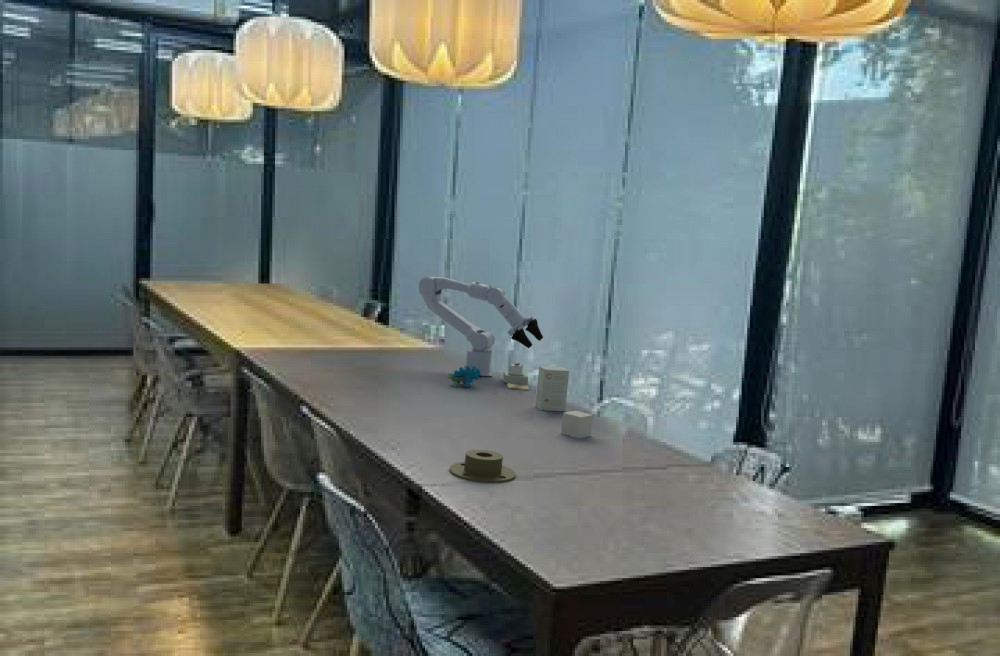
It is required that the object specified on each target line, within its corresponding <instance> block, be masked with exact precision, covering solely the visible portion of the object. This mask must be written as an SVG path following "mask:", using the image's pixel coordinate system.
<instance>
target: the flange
mask: <svg viewBox="0 0 1000 656" xmlns="http://www.w3.org/2000/svg"><path fill="white" fill-rule="evenodd" d="M503 458H504V456H503V454H502V453H500V452H498V451H493V450H489V449H488V450H487V449H471V450H467V451H466V452H465V458H464V461H460V462H456V463H453V464H452V465H450V467H449V473H450V474H451V475H453V476H454V477H457V478H459V479H462V480H465V481H470V482H475V483H482V484H483V483H484V484H500V483H502V484H503V483H509V482H512V481H514V480H515V479H516V475H517V473H516V472H515V470H513V469H512V468H510V467H508V466H505V465H503V460H504V459H503Z"/></svg>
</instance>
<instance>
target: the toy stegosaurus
mask: <svg viewBox="0 0 1000 656" xmlns="http://www.w3.org/2000/svg"><path fill="white" fill-rule="evenodd" d="M466 369H467V370H465V369H464V368H463V367H462V366H461V367H459V370H454V371H453V373H449V374H448V379H450V380H451V382H452V383H453V387H454V388H457V384H459V385H460V384H461V383H462V384H463V385H466V387H467V389H470V388H471V383H472V384H473V382H474V380H476V381H477V380H478V379H479V377H480V376H481V375H480V369H476V367H475V366H473V367H472V370H470V366H466ZM475 370H476V371H475ZM481 377H482V376H481Z"/></svg>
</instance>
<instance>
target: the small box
mask: <svg viewBox="0 0 1000 656" xmlns="http://www.w3.org/2000/svg"><path fill="white" fill-rule="evenodd" d="M569 376H570V371H569V370H568V369H567V368H565V367H562V366H561V367H560V366H545V365H544V366H543V365H542V366H541V365H539V366H538V375H537V386H536V393H535V394H536V397H535V407H536V408H537V409H538V408H539V409H538V410H540V411H543V410H544V411H545V412H546V411H548V412H552V411H553V412H565V411H566V403H567V397H568V396H567V395H568V387H569V386H568V385H569Z"/></svg>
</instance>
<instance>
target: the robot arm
mask: <svg viewBox="0 0 1000 656" xmlns="http://www.w3.org/2000/svg"><path fill="white" fill-rule="evenodd" d="M447 289H448V290H453V291H458V292H463V293H466V294H467V295H468V297H469V298H472V299H476V300H480V301H484V302H487V303H489V304H490V305H493V306H494V307H495V309H496V310H497V311H498V313H500V315H501V317H502V318H504V319H505V320H506V322H507V323H508V324H509V326H510V327H511V328H510V329H509V330H508V331H507V334H508V335H509V336H510V339H511V340H513V341H516V342H518V343H519V344H522V345H523V346H524V347H526V348H527V349H530V348H531V347H532V346H533V344H532V343H533V342H531V340H530V339H529V337H528V336H527V334H526V332H525V331H527V332H528V333H530V334H531V335H532V336H533V337H534V339H536V340H537V341H539V342H541V340H542V339H543V338H544V336H543V334H542V332H541V329H540V327H539V325H538V324H539V323H538V320H537V319H536V318H534V317H533V316H532V315H530V316H526V317H525V316H524V315H523V314H522V313H521V311H520V310H519V309H518V307H516V305H514V303H513V302H512V301H511V300H510V299H509V298H508V297H507V296H506V293H505V291H504V290H503V288H501V287H499V286H495V287H493V285H492V284H489V285H487V284H482V283H481V281H478V280H477V281H472V282H471V283H466V282H462V281H460V280H457V279H456V280H455V279H451V278H448V277H444V276H440V277H439V276H435V275H433V276H424V277H422V278H421V279H420V280H419V282H418V293H419V294H420V295H421V297H422V299H423V301H424V303H425V305H426V307H427V309H428V310H430V311H431V312H432V313H433V314H435V315H436V316H437V317H439V318H440V319H442V321H444V322H445V323H447V324H448V325H450V326H451V327H453V328H454V329H455V330H457V331H458V332H459V333H460V334H462V336H464V337H466V340H467V341H468V342H469V343H470V345H471V346H472V349H466V351H465V352H466V354H465V363H464V368H463V369H465V370H467V369H466V366H470V370H472V367H473V366H475V367H476V369H480V375H481V377H490V376H491V377H492V373H491V364H492V354H493V349H492V347H493V346H494V344H495V342H496V341H495V340H496V339H495V336H494V334H493V333H492V332H491V331H488V330H487V331H486V330H484V329H483V328H481V327H478V326H476V325H475V324H473V323H472V322H470V321H469V320H467V319H466V318H464V317H463V316H462V315H461V314H459V313H458V312H456V311H455V310H454V309H452V308H451V307H450V306H449V305H447V304H446V303H445V302H443V301H442V291H443V290H447ZM526 326H527V327H526ZM525 327H526V328H525ZM524 328H525V329H524ZM524 330H525V331H524ZM475 371H476V370H475Z"/></svg>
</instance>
